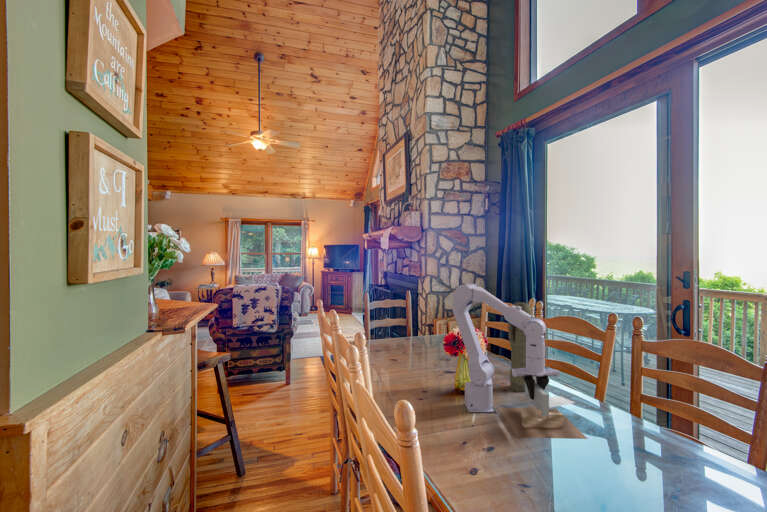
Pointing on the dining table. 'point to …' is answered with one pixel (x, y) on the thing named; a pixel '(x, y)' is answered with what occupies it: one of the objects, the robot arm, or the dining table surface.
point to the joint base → (539, 432)
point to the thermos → (518, 350)
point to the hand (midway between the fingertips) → (535, 398)
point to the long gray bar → (539, 399)
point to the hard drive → (558, 401)
